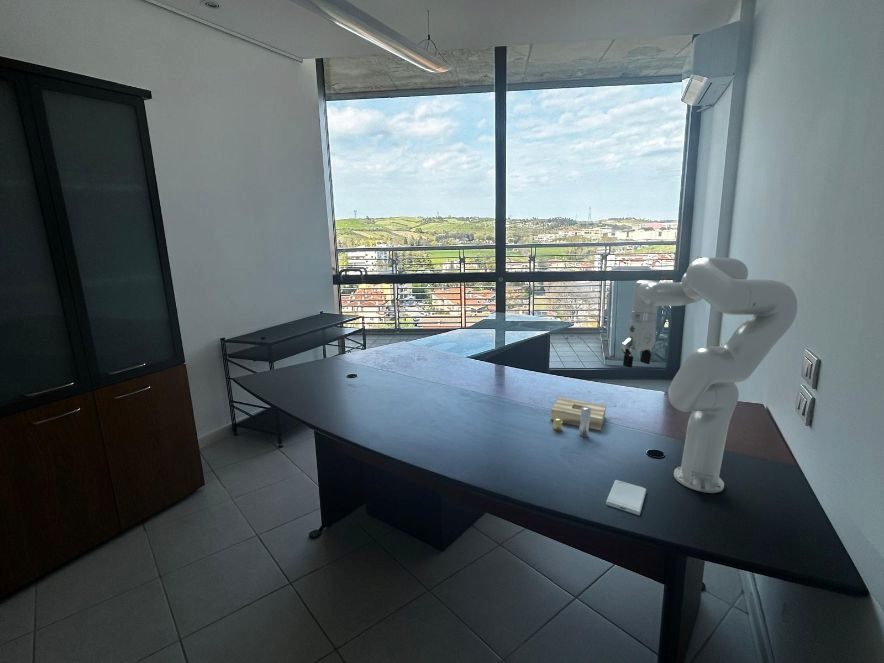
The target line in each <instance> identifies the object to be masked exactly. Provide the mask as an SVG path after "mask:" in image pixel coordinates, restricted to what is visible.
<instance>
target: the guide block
mask: <svg viewBox="0 0 884 663" xmlns="http://www.w3.org/2000/svg"><path fill="white" fill-rule="evenodd" d="M584 406H585V407H590V408H591V415H590V424H589V429H592V430H596V431H597V430H598V431H602V428H603V424H604V421H605V418H606V409H607V406H606V405H604V404H598V403H593V402H589V401H588V402H587V401H581V400H576V399H570V398H565V397H559V396H558V398H557V400H556V401H555V402H554V405H553V406H552V407H551V409H550V421H553V422H554V418H556V417H558V418H562V419H563V424H566V425H573V426H578V427H579V426H580V417H581V407H584Z"/></svg>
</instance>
